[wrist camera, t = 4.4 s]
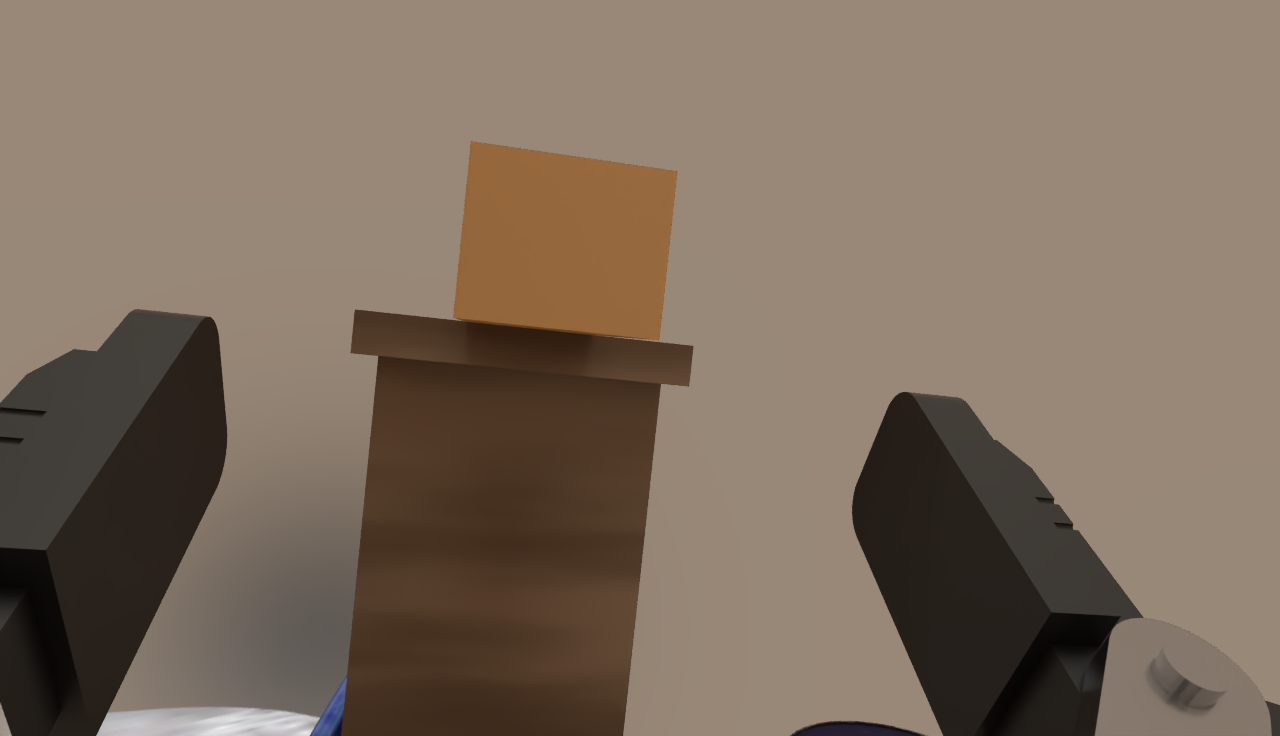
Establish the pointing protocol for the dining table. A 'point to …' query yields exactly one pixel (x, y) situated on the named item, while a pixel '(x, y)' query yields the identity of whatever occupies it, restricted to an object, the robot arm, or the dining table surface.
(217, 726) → the dining table surface
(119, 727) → the dining table surface
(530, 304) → the orange rectangular block
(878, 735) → the storage jar
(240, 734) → the dining table surface
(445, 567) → the tall stand
